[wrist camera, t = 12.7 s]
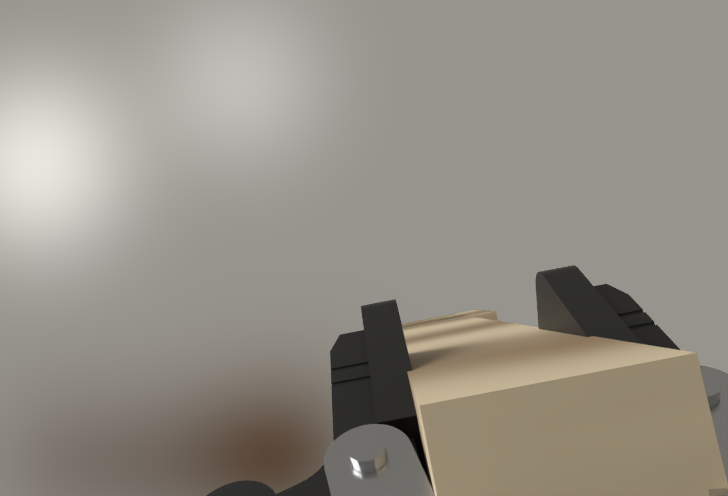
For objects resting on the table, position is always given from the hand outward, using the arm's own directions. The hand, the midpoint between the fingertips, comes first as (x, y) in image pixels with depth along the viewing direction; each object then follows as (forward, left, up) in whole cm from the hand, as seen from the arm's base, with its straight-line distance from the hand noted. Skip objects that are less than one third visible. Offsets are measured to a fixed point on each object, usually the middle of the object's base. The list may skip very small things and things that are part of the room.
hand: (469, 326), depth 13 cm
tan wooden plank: (-4, +3, -3) cm, 6 cm away
